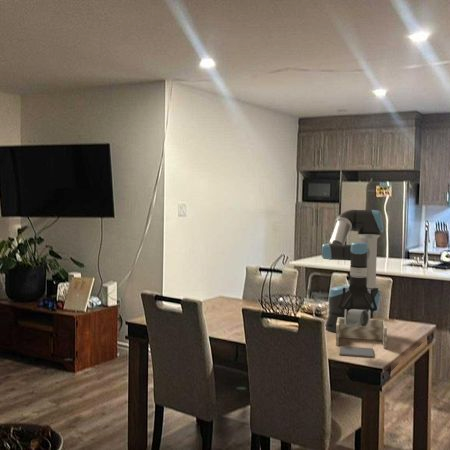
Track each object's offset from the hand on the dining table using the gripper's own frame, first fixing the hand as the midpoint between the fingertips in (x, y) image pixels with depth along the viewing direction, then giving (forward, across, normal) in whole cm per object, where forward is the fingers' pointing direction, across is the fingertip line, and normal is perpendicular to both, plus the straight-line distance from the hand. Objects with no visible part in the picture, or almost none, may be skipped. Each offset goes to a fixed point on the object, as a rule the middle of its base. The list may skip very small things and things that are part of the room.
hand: (357, 324), depth 260 cm
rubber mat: (+13, 0, 0) cm, 13 cm away
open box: (+13, +2, +19) cm, 23 cm away
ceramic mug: (+1, -1, -1) cm, 2 cm away
